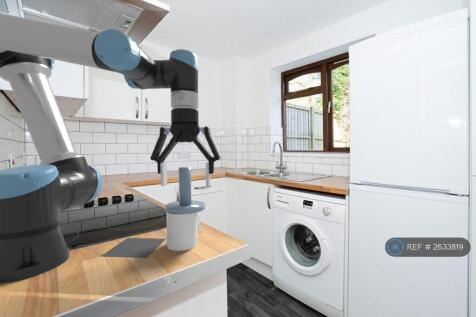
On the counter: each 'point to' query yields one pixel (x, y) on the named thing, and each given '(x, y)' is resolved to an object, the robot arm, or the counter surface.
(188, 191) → the lid
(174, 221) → the mug
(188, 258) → the counter surface
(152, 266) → the counter surface
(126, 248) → the mat
